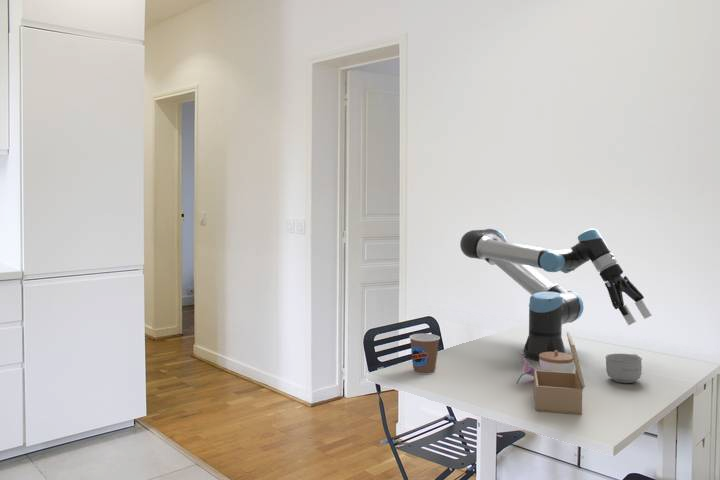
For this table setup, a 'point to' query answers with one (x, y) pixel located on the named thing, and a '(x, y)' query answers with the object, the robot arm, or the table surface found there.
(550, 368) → the lidded jar
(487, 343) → the table surface
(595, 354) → the table surface
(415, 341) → the coffee cup
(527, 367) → the lily
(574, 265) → the robot arm
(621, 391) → the table surface
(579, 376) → the lid
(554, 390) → the mailer box
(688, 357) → the table surface
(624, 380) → the teacup
